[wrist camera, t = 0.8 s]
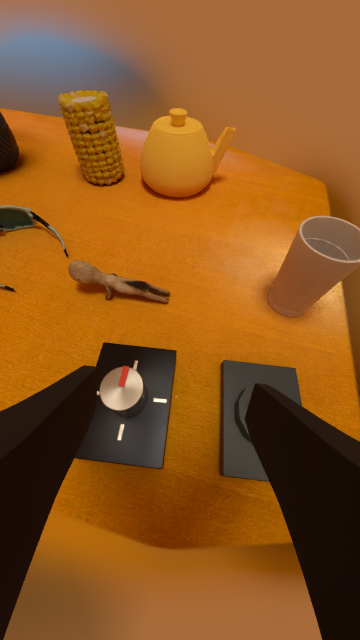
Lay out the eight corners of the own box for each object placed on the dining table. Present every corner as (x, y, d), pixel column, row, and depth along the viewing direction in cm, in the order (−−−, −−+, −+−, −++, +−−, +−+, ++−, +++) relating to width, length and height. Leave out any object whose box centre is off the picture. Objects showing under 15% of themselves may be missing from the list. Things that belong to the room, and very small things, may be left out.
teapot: (142, 202, 47) (133, 127, 37) (141, 160, 57) (134, 91, 46) (232, 200, 49) (249, 128, 38) (216, 160, 59) (227, 93, 48)
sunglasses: (29, 216, 43) (15, 192, 39) (81, 258, 41) (73, 237, 36) (-47, 254, 37) (-73, 230, 33) (8, 306, 35) (-12, 288, 30)
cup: (318, 323, 33) (385, 264, 23) (266, 320, 33) (309, 260, 23) (305, 282, 37) (357, 217, 27) (258, 279, 37) (292, 213, 27)
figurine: (167, 297, 37) (76, 271, 35) (174, 280, 33) (71, 250, 31) (163, 315, 35) (66, 289, 33) (169, 300, 31) (60, 269, 29)
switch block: (306, 485, 23) (327, 490, 20) (220, 474, 23) (227, 477, 20) (289, 372, 29) (302, 363, 26) (220, 364, 29) (226, 354, 26)
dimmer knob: (143, 419, 22) (138, 412, 19) (105, 414, 23) (92, 407, 19) (150, 380, 25) (146, 367, 21) (115, 376, 25) (105, 363, 21)
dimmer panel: (162, 467, 23) (161, 469, 20) (78, 456, 23) (66, 457, 20) (176, 359, 29) (176, 349, 26) (109, 351, 29) (103, 341, 27)
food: (104, 198, 50) (81, 182, 54) (141, 169, 52) (117, 156, 56) (60, 115, 37) (35, 102, 41) (114, 81, 39) (84, 72, 43)
